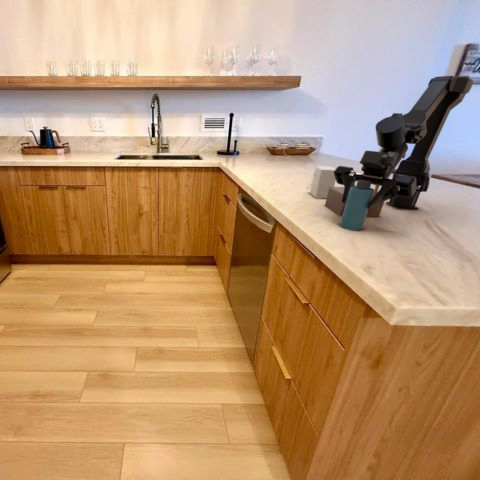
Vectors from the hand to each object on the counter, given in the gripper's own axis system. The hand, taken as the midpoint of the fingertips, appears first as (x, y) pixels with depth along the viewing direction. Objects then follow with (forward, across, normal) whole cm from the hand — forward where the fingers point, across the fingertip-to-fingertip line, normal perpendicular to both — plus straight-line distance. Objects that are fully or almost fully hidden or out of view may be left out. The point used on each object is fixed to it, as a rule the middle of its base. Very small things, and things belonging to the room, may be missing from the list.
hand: (354, 205), depth 77 cm
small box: (-13, -23, +23) cm, 35 cm away
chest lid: (-11, -7, +12) cm, 18 cm away
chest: (-7, -7, +16) cm, 19 cm away
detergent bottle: (+4, 0, +6) cm, 7 cm away
